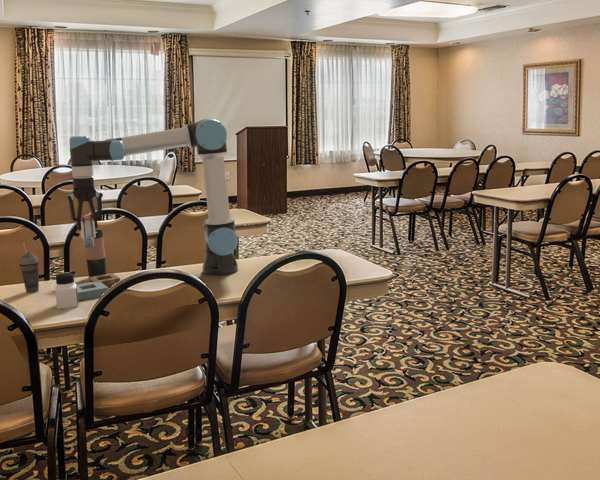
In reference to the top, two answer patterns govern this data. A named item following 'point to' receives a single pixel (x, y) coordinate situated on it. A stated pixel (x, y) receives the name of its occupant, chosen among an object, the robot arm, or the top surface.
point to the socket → (90, 290)
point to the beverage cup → (30, 271)
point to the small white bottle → (88, 231)
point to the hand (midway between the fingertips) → (88, 237)
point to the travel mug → (96, 256)
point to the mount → (105, 279)
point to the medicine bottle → (66, 291)
